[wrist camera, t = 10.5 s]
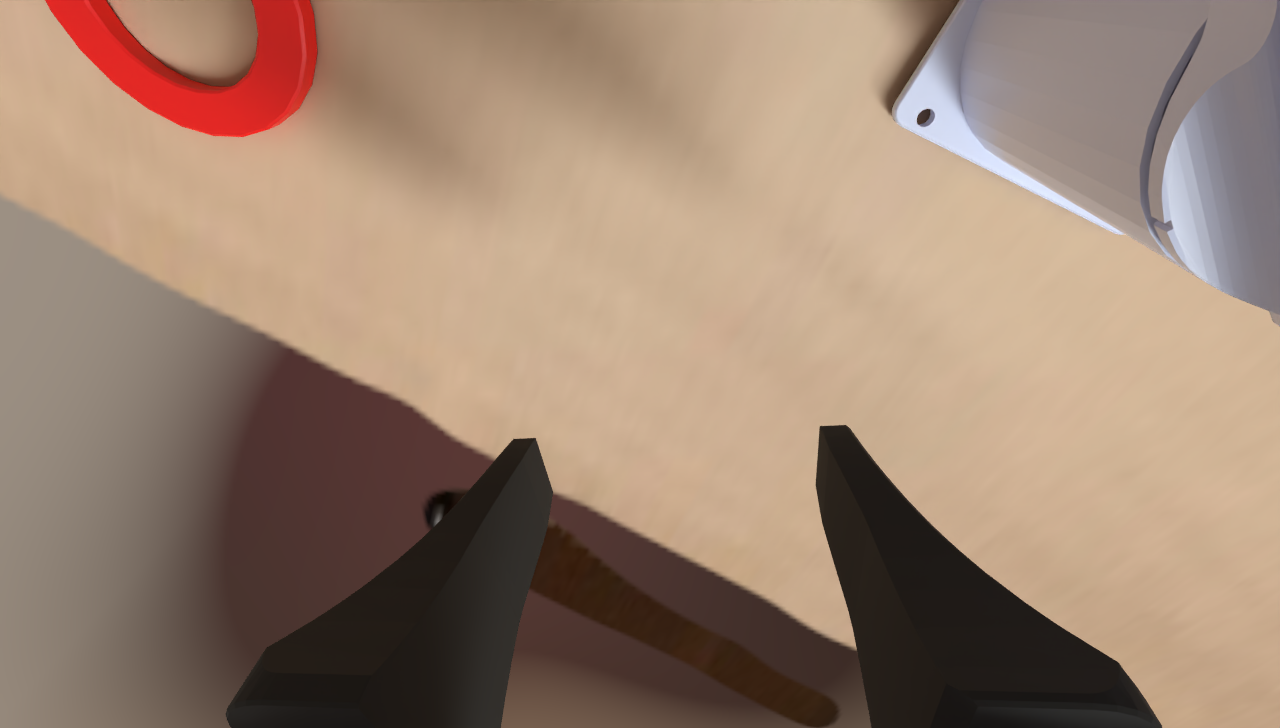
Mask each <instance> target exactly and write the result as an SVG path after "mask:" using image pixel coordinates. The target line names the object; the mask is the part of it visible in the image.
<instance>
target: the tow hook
mask: <svg viewBox="0 0 1280 728" xmlns="http://www.w3.org/2000/svg"><path fill="white" fill-rule="evenodd" d="M45 1H46V3H47V4H48V6H49V8H50V10H51V12H52V13H53V14H54V16H55V17H56V18H57V20H58V21H59V22H60V24H61V25H62V26H63V28H64V29H65V30H66V32H67V33H68V34H69V35H70V37H71V38H72V39H73V41H74V42H75V43H76V45H77V46H78V47H79V49H80V50H81V51H82V52H83V53H84V54H85V55H86V56H87V57H88V58H89V59H90V60H91V61H92V62H93V63H94V64H95V65H96V66H97V67H98V68H99V69H100V70H101V71H102V72H103V73H104V74H105V75H106V76H107V77H108V78H109V79H110V80H111V81H112V82H113V83H114V84H115V85H117V86H118V87H119V88H121V89H122V90H123V91H125V92H126V93H127V94H129V95H130V96H131V97H133V98H134V99H135V100H137V101H138V102H139V103H141V104H142V105H143V106H145V107H146V108H147V109H149V110H151V111H153V112H155V113H157V114H159V115H161V116H163V117H165V118H167V119H168V120H170V121H172V122H174V123H176V124H178V125H180V126H182V127H185V128H189V129H192V130H196V131H199V132H202V133H206V134H209V135H213V136H233V137H244V136H248V135H251V134H254V133H258V132H261V131H264V130H268V129H270V128H273V127H275V126H277V125H279V124H281V123H282V122H283V121H284V120H286V119H287V118H288V117H289V116H291V115H292V114H293V113H294V112H295V111H297V110H298V109H299V108H300V106H301V104H302V102H303V100H304V98H305V97H306V95H307V93H308V91H309V89H310V87H311V85H312V82H313V76H314V70H315V64H316V58H317V43H316V32H315V21H314V13H313V10H312V7H311V3H310V0H251V1H252V3H253V6H254V10H255V17H256V23H257V30H258V40H257V50H256V57H255V59H254V61H253V63H252V66H251V68H250V70H249V72H248V74H247V75H246V76H244V77H243V78H242V79H241V80H240V81H239V82H238V83H237V84H236V85H233V86H230V87H224V86H209V85H206V84H202V83H199V82H196V81H192V80H189V79H188V78H186V77H184V76H182V75H180V74H178V73H177V72H175V71H173V70H171V69H169V68H167V67H166V66H165V65H164V64H162V63H161V62H160V61H159V60H157V59H156V58H155V57H153V56H152V55H151V54H150V53H148V52H147V51H146V50H145V49H144V48H143V47H142V46H141V45H140V44H139V43H138V42H137V41H136V40H135V39H134V37H133V36H132V35H131V34H130V33H129V32H128V31H127V30H126V29H125V28H124V26H123V25H122V23H121V22H120V20H119V19H118V18H117V16H116V15H115V13H114V12H113V11H112V9H111V8H110V6H109V5H108V3H107V1H106V0H45Z"/></svg>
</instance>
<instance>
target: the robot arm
mask: <svg viewBox="0 0 1280 728" xmlns="http://www.w3.org/2000/svg"><path fill="white" fill-rule="evenodd" d="M925 109H930V113H931V115H930V117H929V119H928V120H927V121H926V122H925V123H923V124H917V117H918V114H919V113H920V112H921V111H922V110H925ZM892 117H893V120H894V121H895V122H896V123H897V124H898V125H900V126H901V127H903V128H905V129H907V130H909V131H911V132H913V133H915V134H917V135H919V136H921V137H923V138H925V139H927V140H929V141H931V142H933V143H935V144H937V145H939V146H941V147H943V148H945V149H947V150H949V151H951V152H953V153H955V154H957V155H959V156H961V157H963V158H965V159H967V160H969V161H971V162H973V163H975V164H977V165H979V166H981V167H983V168H985V169H987V170H989V171H991V172H993V173H995V174H997V175H999V176H1001V177H1003V178H1005V179H1007V180H1009V181H1011V182H1013V183H1015V184H1017V185H1019V186H1021V187H1023V188H1025V189H1027V190H1029V191H1031V192H1033V193H1035V194H1037V195H1039V196H1041V197H1043V198H1045V199H1047V200H1049V201H1051V202H1053V203H1055V204H1057V205H1059V206H1061V207H1063V208H1065V209H1067V210H1069V211H1071V212H1073V213H1075V214H1077V215H1079V216H1081V217H1083V218H1085V219H1087V220H1089V221H1091V222H1093V223H1095V224H1097V225H1099V226H1101V227H1103V228H1105V229H1107V230H1109V231H1111V232H1113V233H1115V234H1119V235H1122V234H1126V235H1127V236H1129V237H1131V238H1132V239H1134V240H1136V241H1137V242H1139V243H1141V244H1142V245H1144V246H1146V247H1147V248H1149V249H1151V250H1152V251H1154V252H1156V253H1158V254H1159V255H1161V256H1163V257H1164V258H1166V259H1168V260H1169V261H1171V262H1173V263H1174V264H1176V265H1178V266H1179V267H1181V268H1183V269H1184V270H1186V271H1188V272H1189V273H1191V274H1193V275H1194V276H1196V277H1198V278H1199V279H1201V280H1203V281H1204V282H1206V283H1208V284H1209V285H1211V286H1213V287H1215V288H1217V289H1218V290H1220V291H1222V292H1224V293H1226V294H1229V295H1231V296H1233V297H1235V298H1237V299H1240V300H1242V301H1245V302H1247V303H1250V304H1252V305H1255V306H1257V307H1260V308H1263V309H1265V310H1268V311H1269V313H1270V315H1271V318H1272V321H1273V322H1274V323H1275V324H1277V325H1278V326H1280V0H960V1H959V2H958V4H957V5H956V7H955V8H954V10H953V12H952V13H951V15H950V16H949V18H948V19H947V21H946V23H945V24H944V26H943V27H942V29H941V30H940V32H939V34H938V35H937V37H936V38H935V40H934V41H933V43H932V45H931V46H930V48H929V49H928V51H927V52H926V54H925V56H924V57H923V59H922V60H921V62H920V63H919V65H918V67H917V68H916V70H915V71H914V73H913V74H912V76H911V78H910V79H909V81H908V82H907V84H906V85H905V87H904V89H903V90H902V92H901V93H900V95H899V96H898V98H897V100H896V101H895V103H894V105H893V108H892ZM816 489H817V495H818V501H819V507H820V513H821V518H822V524H823V527H824V530H825V534H826V537H827V541H828V544H829V547H830V551H831V554H832V558H833V561H834V564H835V568H836V571H837V574H838V578H839V581H840V584H841V587H842V591H843V594H844V597H845V601H846V604H847V607H848V611H849V615H850V619H851V623H852V627H853V632H854V637H855V642H856V647H857V652H858V657H859V661H860V667H861V672H862V678H863V683H864V688H865V693H866V699H867V704H868V710H869V714H870V721H871V727H872V728H1162V725H1161V724H1160V722H1159V720H1158V719H1157V717H1156V716H1155V714H1154V712H1153V711H1152V709H1151V708H1150V706H1149V704H1148V703H1147V701H1146V700H1145V698H1144V697H1143V695H1142V694H1141V692H1140V691H1139V689H1138V688H1137V687H1136V685H1135V684H1134V683H1133V681H1132V680H1131V679H1130V678H1129V676H1128V675H1127V674H1126V672H1125V671H1124V670H1123V668H1122V667H1121V665H1120V664H1119V663H1118V662H1117V661H1115V660H1113V659H1112V658H1110V657H1109V656H1107V655H1105V654H1104V653H1102V652H1100V651H1099V650H1097V649H1096V648H1094V647H1092V646H1091V645H1089V644H1087V643H1086V642H1084V641H1083V640H1081V639H1079V638H1078V637H1076V636H1075V635H1073V634H1071V633H1070V632H1068V631H1066V630H1065V629H1063V628H1062V627H1060V626H1059V625H1057V624H1056V623H1054V622H1053V621H1051V620H1050V619H1048V618H1047V617H1045V616H1044V615H1042V614H1041V613H1039V612H1038V611H1037V610H1035V609H1034V608H1032V607H1031V606H1029V605H1028V604H1026V603H1025V602H1024V601H1022V600H1021V599H1020V598H1018V597H1017V596H1016V595H1014V594H1013V593H1012V592H1010V591H1009V590H1008V589H1006V588H1005V587H1004V586H1002V585H1001V584H1000V583H999V582H997V581H996V580H995V579H993V578H992V577H991V576H989V575H988V574H987V573H985V572H984V571H983V570H982V569H981V568H979V567H978V566H977V565H976V564H975V563H973V562H972V561H971V560H970V559H969V558H967V557H966V556H965V555H964V554H963V553H962V552H960V551H959V550H958V549H957V548H956V547H955V546H954V545H953V544H952V543H950V542H949V541H948V540H947V539H946V538H945V537H944V536H943V535H942V534H941V533H940V532H939V531H938V530H936V529H935V528H934V527H933V526H932V525H931V524H930V523H929V522H928V521H927V520H926V519H925V518H924V517H923V516H922V515H921V513H920V512H919V511H918V510H917V509H916V508H915V507H914V506H913V505H912V504H911V503H910V502H909V501H908V500H907V499H906V498H905V497H904V495H903V494H902V493H901V492H900V491H899V490H898V489H897V488H896V486H895V485H894V484H893V483H892V482H891V481H890V479H889V478H888V477H887V476H886V475H885V474H884V472H883V471H882V470H881V469H880V468H879V466H878V465H877V464H876V463H875V461H874V460H873V459H872V458H871V456H870V455H869V454H868V452H867V451H866V450H865V448H864V447H863V446H862V444H861V443H860V442H859V440H858V439H857V438H856V436H855V435H854V433H853V432H852V430H851V429H850V428H849V427H848V426H846V425H838V426H820V431H819V446H818V460H817V475H816ZM552 495H553V490H552V487H551V484H550V481H549V478H548V475H547V472H546V469H545V466H544V463H543V459H542V456H541V453H540V450H539V447H538V444H537V441H536V438H527V439H513V440H512V441H511V443H510V444H509V445H508V446H507V447H506V448H505V449H504V450H503V452H502V453H501V454H500V455H499V456H498V457H497V459H496V460H495V461H494V462H493V464H492V465H491V466H490V467H489V468H488V469H487V470H486V472H485V473H484V474H483V475H482V476H481V477H480V478H479V480H478V481H477V482H476V483H475V484H474V485H473V486H472V487H471V489H470V490H469V491H468V492H467V493H466V494H465V495H464V496H463V498H462V499H461V500H460V501H459V502H458V503H457V504H456V505H455V506H454V507H453V508H452V509H451V510H450V511H449V512H448V513H447V514H446V515H445V516H444V517H443V518H442V520H441V521H440V522H439V523H438V524H437V525H436V526H435V527H434V528H433V529H432V530H430V531H429V532H428V533H427V534H426V535H425V536H424V537H423V538H422V539H421V540H420V541H419V542H418V543H416V544H415V545H414V546H413V547H412V548H411V549H409V551H407V552H406V553H405V554H404V555H403V556H401V557H400V558H399V559H398V560H397V561H395V562H394V563H393V564H392V565H390V566H389V567H388V568H386V569H385V570H384V571H383V572H381V573H380V574H379V575H378V576H376V577H375V578H374V579H372V580H371V581H370V582H368V583H367V584H366V585H365V586H363V587H362V588H360V589H359V590H358V591H356V592H355V593H353V594H352V595H351V596H349V597H348V598H346V599H345V600H343V601H342V602H340V603H339V604H338V605H336V606H334V607H333V608H332V609H330V610H328V611H327V612H326V613H324V614H322V615H321V616H319V617H318V618H316V619H315V620H313V621H311V622H310V623H308V624H306V625H304V626H303V627H301V628H300V629H298V630H296V631H294V632H293V633H291V634H289V635H288V636H286V637H285V638H283V639H281V640H279V641H278V642H276V643H274V644H272V645H271V646H269V647H267V648H266V650H265V651H264V652H263V654H262V655H261V657H260V659H259V660H258V662H257V663H256V665H255V666H254V668H253V669H252V671H251V673H250V674H249V676H248V677H247V679H246V680H245V682H244V683H243V685H242V686H241V688H240V689H239V691H238V692H237V694H236V696H235V697H234V699H233V700H232V702H231V703H230V705H229V706H228V708H227V712H226V717H227V720H228V723H229V725H230V727H231V728H501V722H502V715H503V708H504V702H505V696H506V690H507V685H508V679H509V673H510V667H511V661H512V656H513V651H514V646H515V641H516V636H517V631H518V626H519V622H520V618H521V614H522V610H523V607H524V603H525V600H526V597H527V593H528V590H529V587H530V584H531V580H532V577H533V574H534V571H535V567H536V564H537V561H538V557H539V554H540V551H541V547H542V544H543V541H544V537H545V534H546V530H547V526H548V520H549V515H550V508H551V502H552Z"/></svg>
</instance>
